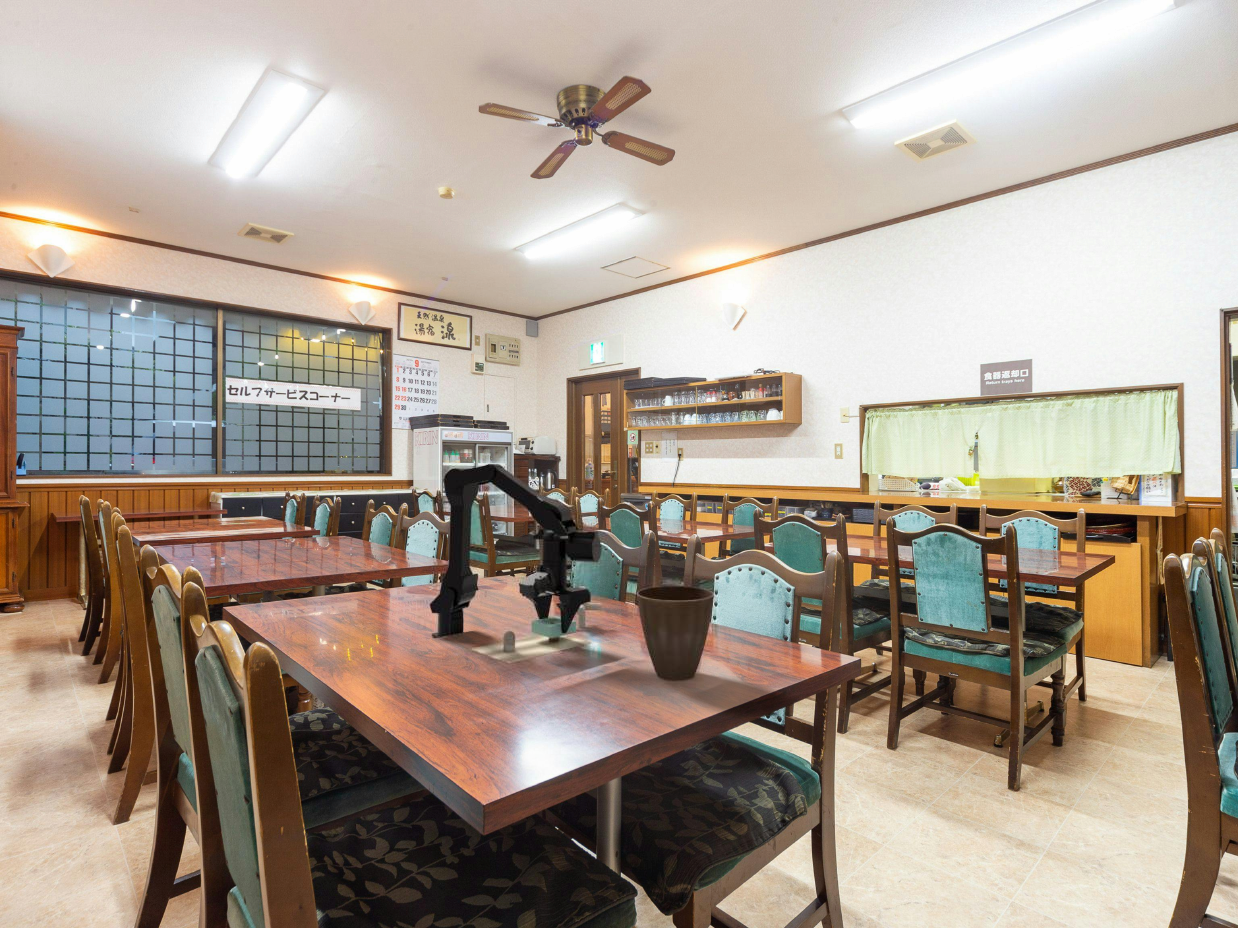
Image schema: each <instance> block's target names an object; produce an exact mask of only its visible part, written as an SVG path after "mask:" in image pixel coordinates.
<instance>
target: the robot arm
mask: <svg viewBox="0 0 1238 928" xmlns="http://www.w3.org/2000/svg"><path fill="white" fill-rule="evenodd" d="M490 483H491V484H492V485H494V486H495V487H496V488H498V490H500V491H502V492H503V493H505V494H506V495H508V496H509V497H510V498H511V499H513V500H514V501H516V502H517V503H518V504H520V505H521V506H522V507H524V508H525V509H526V510H527V511H528V512H529V513H530V515H531V517H532V519H533V520H534V521H535V522H536V523H537V524H538V525H539V526H540V527H541V528H539V529H538V531H537V532H536V533H535V534H534V535H532V539H533V540H541V563H539V564H537V566H536V570H535V571H536V572H535V573H532V574H530V575H528V576H526V577H524V578H522V579H521V580H519V581H518V583H517V584H518V586H519V594H521V596H522V597H525V598H526V599H528V601H530V602H531V603H532V604H533V606H534V608H535V611H536V614H537V617H538V618H537V619H538V620H539V619H544V618H549V614H550V611H551V605H552V599H553V597H558V600H559V602H558V603H555V606H556V607H558V609H559V610H560V617H561V629H562V633H567V631H568V629H569V627H570V625H571V623H572V620H573V621H574V618H575V617H576V614H577V611H578V609H579V608H580V606H581V605H583V604H584V603H592V602H591V601H592V596H591V594H592V592H591V591H590V590H589V589H588V588H586V589H585V588H580V587H581V586H576V587H575V586H574V587H572V583H571V582H569V581H568V570H572V564H571V563H568V558H569V559H570V561H572V562H581V563H582V562H583V563H598V562H599V561H600V559H601V555H602V551H603V550H602V548H603V547H602V544H601V540H600V537H599V531H598V530H591V531H590V530H589V531H584V530H583V531H582V530H581V529H580V528H579V526H578V525H577V523H576V522H575V520H574V519H573V517H572V513H571V509H570V507H569V506H568V505H566V504H565V503H562V502H560V501H558V500H557V499H554V498H552V497H547V496H545V495H543V494H540V492H538V491H536V490H535V489H534V488H532V487H531V486H529V485H528V484H527V483H525V482H524V481H522V480H521V479H519V477H516V475H514V474H513V473H511V472H510V471H508V470H506V469H505V468H504V467H503V466H502V465H501V464H499V463H487V464H485V465H482V466H477V467H472V468H470V467H469V468H464V467H462V468H460V467H459V468H455V467H454V468H451V469H449V470H448V471H447V472H446V473H445V474H444V476H443V486H444V495H445V497H446V499H447V501H448V503H449V506H450V512H449V513H450V514H449V539H448V541H449V543H448V565H447V569H446V571H445V573H444V575H443V577H442V579H441V584H440V589H439V594H438V595H437V596H436V597H434V599H433V600H432V601H431V602H430V604H429V606H430V607H429V608H430V611H431V614H437V632H434V633H431V636H432V637H434V638H436V639H439V638H444V637H450V636H453V635H458V634H464V633H465V631H464V626H465V625H464V621H465V620H464V609H466V608H467V609H468V608H469V607H470V604H471V601H472V600H473V599H474V598H475V597H476V593H477V591H479V587H478V580H479V574H478V573H473V571H472V568H471V565H470V563H471V562H470V561H471V560H470V559H471V557H470V556H471V533H472V532H471V530H472V508H473V504H474V503H475V500H476V498H477V496H478V495H479V494H478V493H479V488H480V486H483V485H484V486H485V485H488V484H490Z"/></svg>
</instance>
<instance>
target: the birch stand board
mask: <svg viewBox="0 0 1238 928" xmlns="http://www.w3.org/2000/svg"><path fill="white" fill-rule="evenodd" d="M589 644H592V642H590V641H588V640H587V641H586V640H583V639H580V638H576V637H573V636H570V635H563V636H559V641H558V642H549V637H546V636H542V635H539V634H536V633H535V634H532V635H528V636H523V637H519V638H516V634H515V632H513V631H512V630H508V631H506V632H504V634H503V641H500V642H495V643H491V644H486V645H482V646H477V647H473V648H471V650H472V651H475V652H478V653H480V654H482V655H485V656H488V657H490V658H493V659H495V660H498V661H501V662H503V663H506V664H512V663H517V662H521V661H524V660H529V659H533V658H536V657H537V658H538V657H540V656H541V657H542V656H545V655H550V654H553V653H557V652H561V651H567V650H569V649H574V648H578V647H581V646H586V645H589Z"/></svg>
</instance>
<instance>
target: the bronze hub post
mask: <svg viewBox="0 0 1238 928" xmlns="http://www.w3.org/2000/svg"><path fill="white" fill-rule="evenodd" d="M556 623H557V622H552V623H550V624H556ZM558 641H559V637H555V638H549V642H558Z"/></svg>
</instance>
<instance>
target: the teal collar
mask: <svg viewBox="0 0 1238 928" xmlns="http://www.w3.org/2000/svg"><path fill="white" fill-rule="evenodd" d="M552 622H557V623H556V624H550V623H552ZM531 633H533V634H535V635H536V634H539V635H542V636H546V637H549V638H555V637H559V636H563V635H567V636H569V635H572V634H576V633H577V621H575V620H574V619H573V620H572V623H571V625H570V627H569V629H568V631H567V633H562V629H561V616H557V615H554V616H550V617H549V616H548V618H544V619H539V618H538V619H535V620H532V621H531Z"/></svg>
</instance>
